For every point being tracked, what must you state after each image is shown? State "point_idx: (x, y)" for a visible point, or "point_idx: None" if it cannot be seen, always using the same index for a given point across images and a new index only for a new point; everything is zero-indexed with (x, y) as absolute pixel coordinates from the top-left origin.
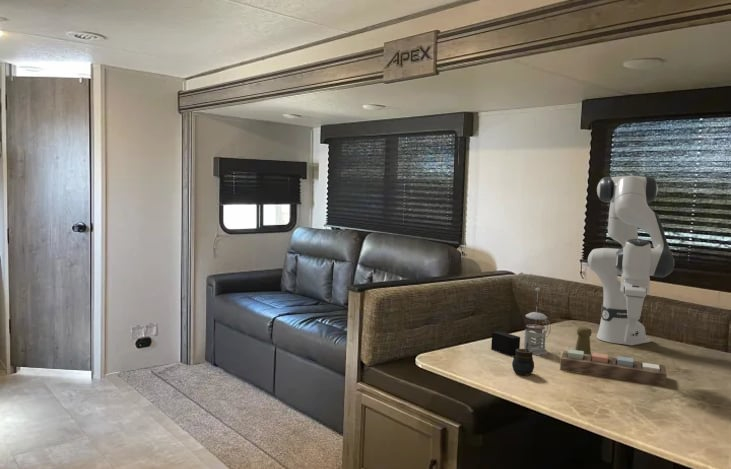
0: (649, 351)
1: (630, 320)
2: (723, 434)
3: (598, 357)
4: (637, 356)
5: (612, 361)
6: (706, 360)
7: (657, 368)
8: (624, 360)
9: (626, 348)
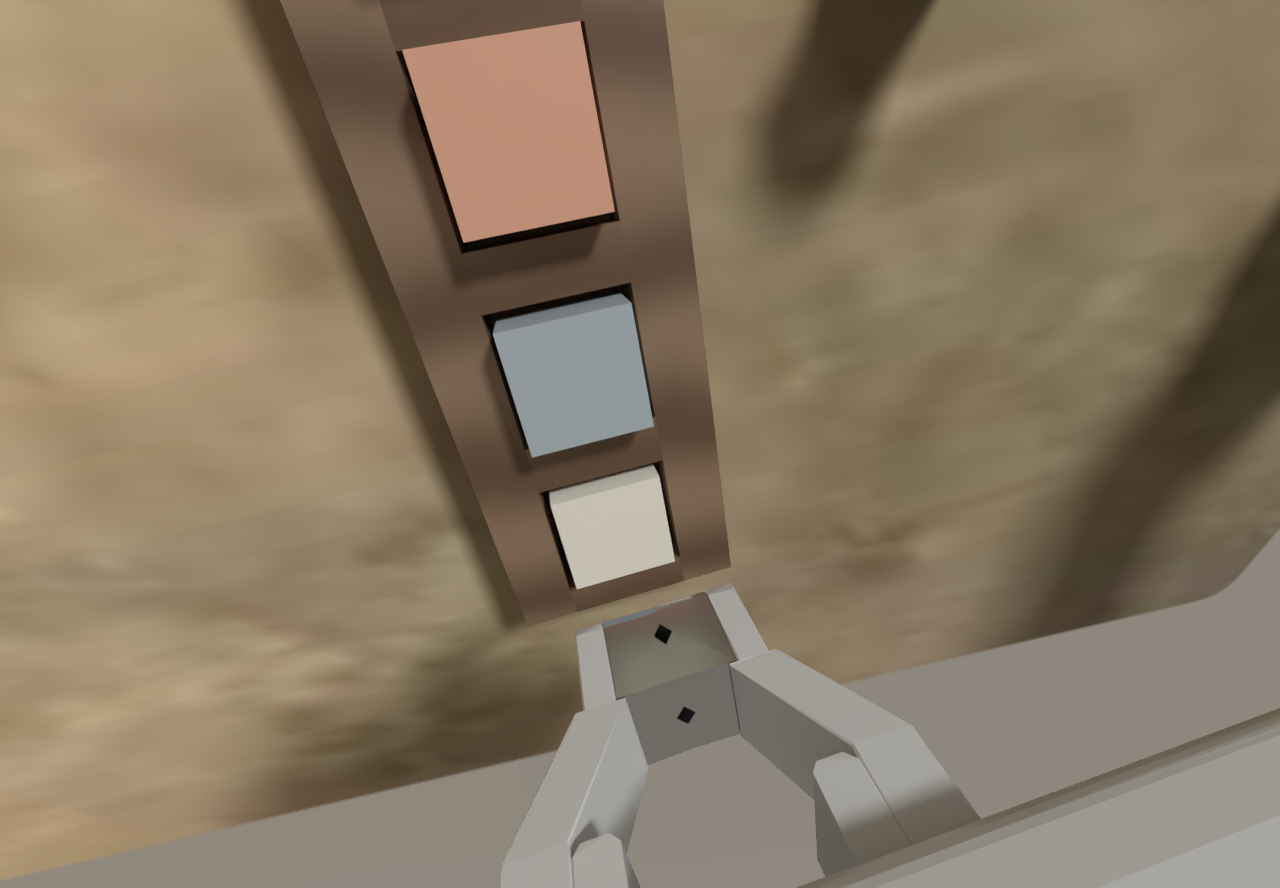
0: (1190, 344)
1: (544, 803)
2: (12, 875)
3: (431, 136)
4: (1062, 311)
5: (566, 266)
6: (1090, 579)
7: (574, 579)
8: (520, 391)
9: (1236, 202)
